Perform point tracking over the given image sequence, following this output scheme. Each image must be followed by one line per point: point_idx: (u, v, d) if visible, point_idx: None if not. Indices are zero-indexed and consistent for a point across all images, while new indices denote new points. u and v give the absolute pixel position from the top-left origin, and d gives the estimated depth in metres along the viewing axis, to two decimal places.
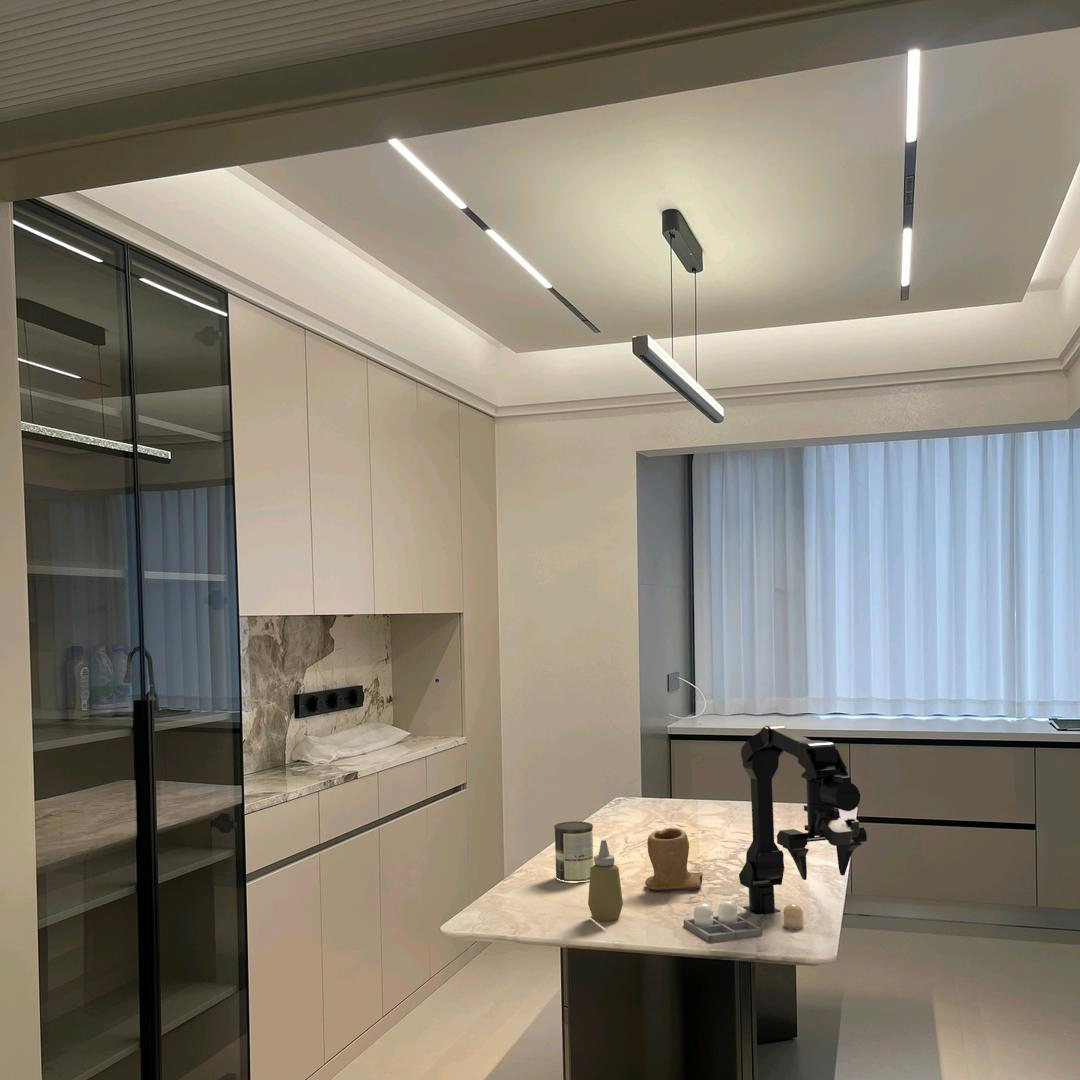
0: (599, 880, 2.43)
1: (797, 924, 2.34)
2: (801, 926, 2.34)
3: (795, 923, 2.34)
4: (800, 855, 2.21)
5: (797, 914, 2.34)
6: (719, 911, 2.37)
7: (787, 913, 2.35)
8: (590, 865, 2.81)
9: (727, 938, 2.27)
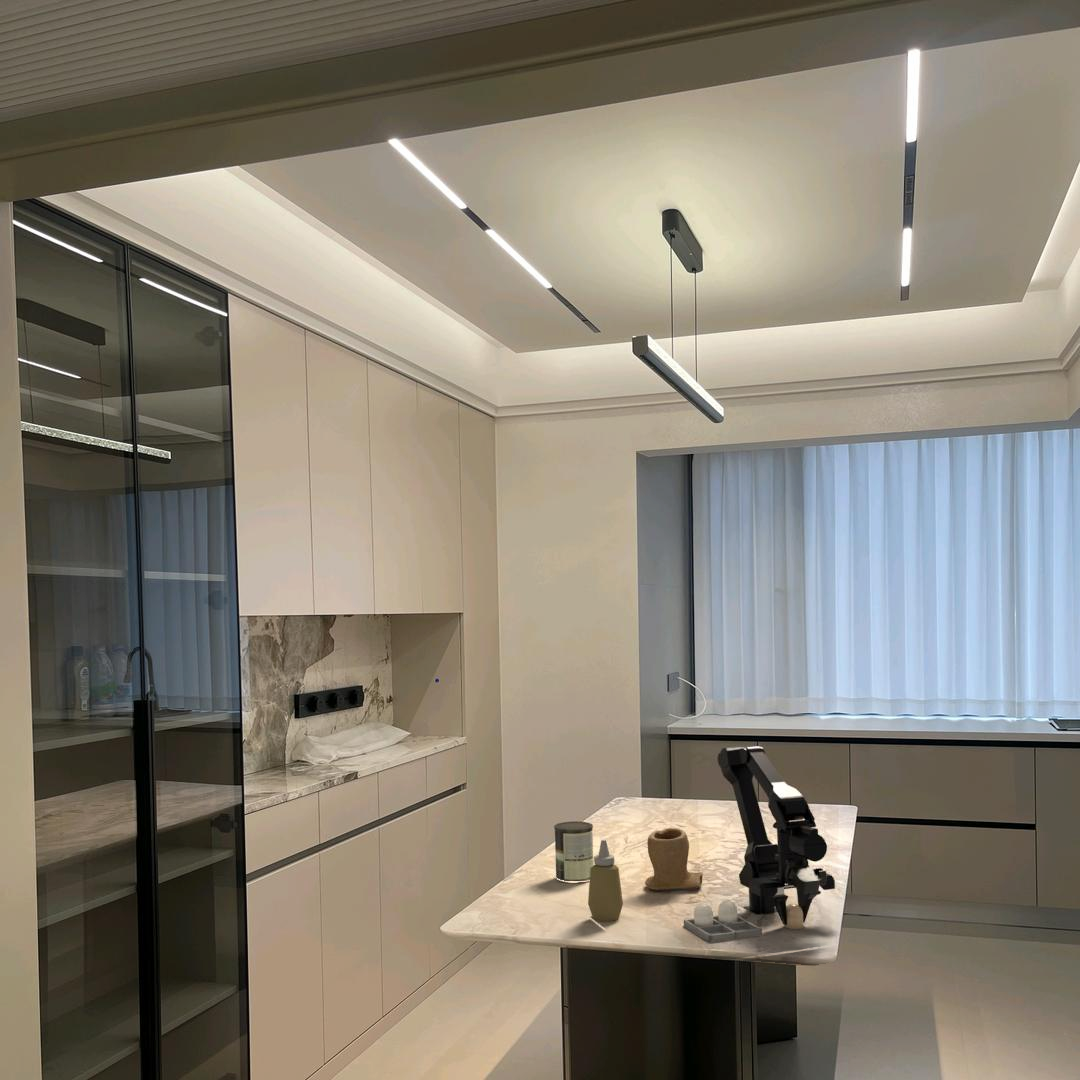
0: (599, 880, 2.43)
1: (797, 924, 2.34)
2: (801, 926, 2.34)
3: (795, 923, 2.34)
4: (780, 901, 2.33)
5: (797, 914, 2.34)
6: (719, 911, 2.37)
7: (787, 913, 2.35)
8: (590, 865, 2.81)
9: (727, 938, 2.27)
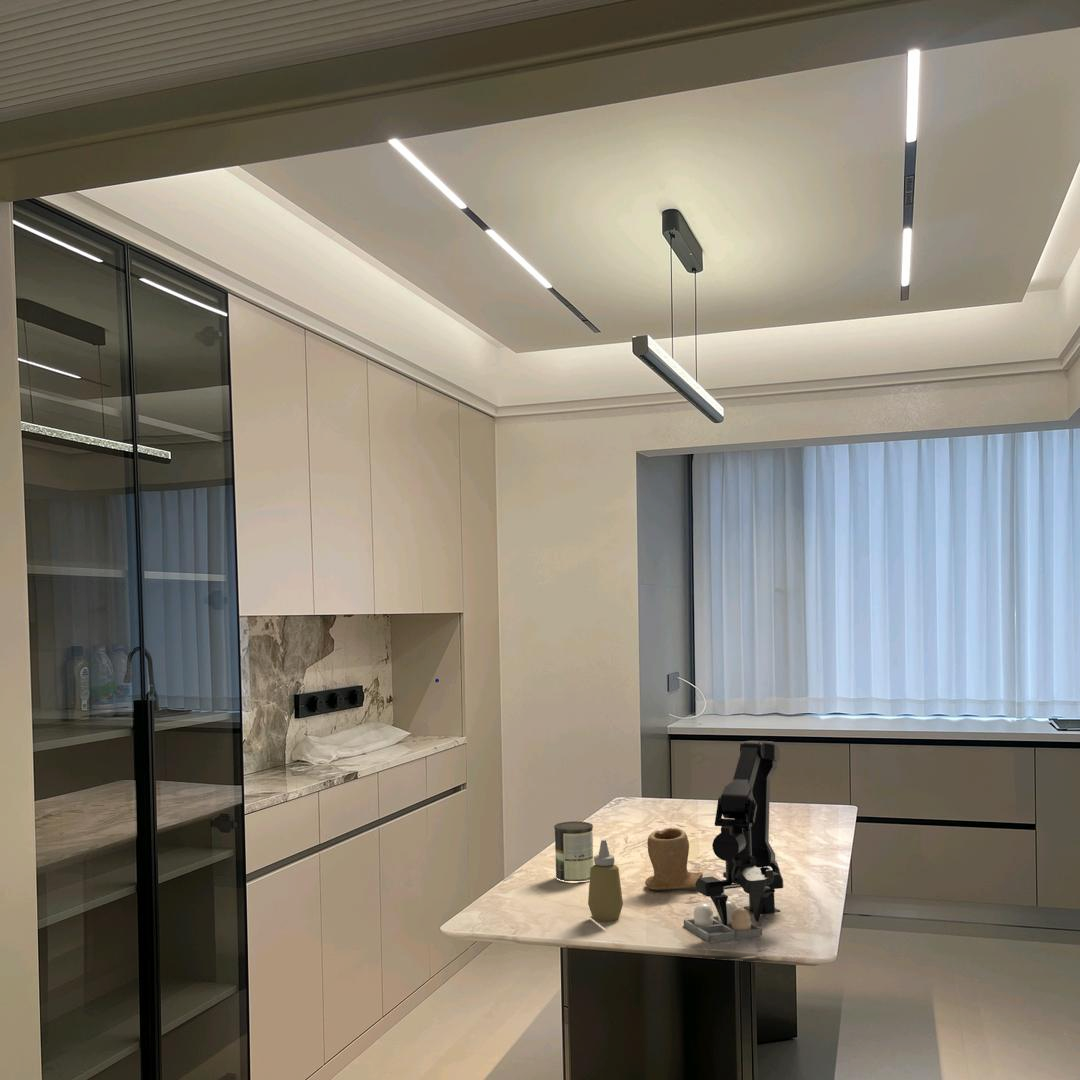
0: (599, 880, 2.43)
1: (745, 929, 2.30)
2: None
3: (742, 927, 2.30)
4: (720, 902, 2.29)
5: (744, 918, 2.30)
6: None
7: (734, 917, 2.31)
8: (590, 865, 2.81)
9: (727, 938, 2.27)
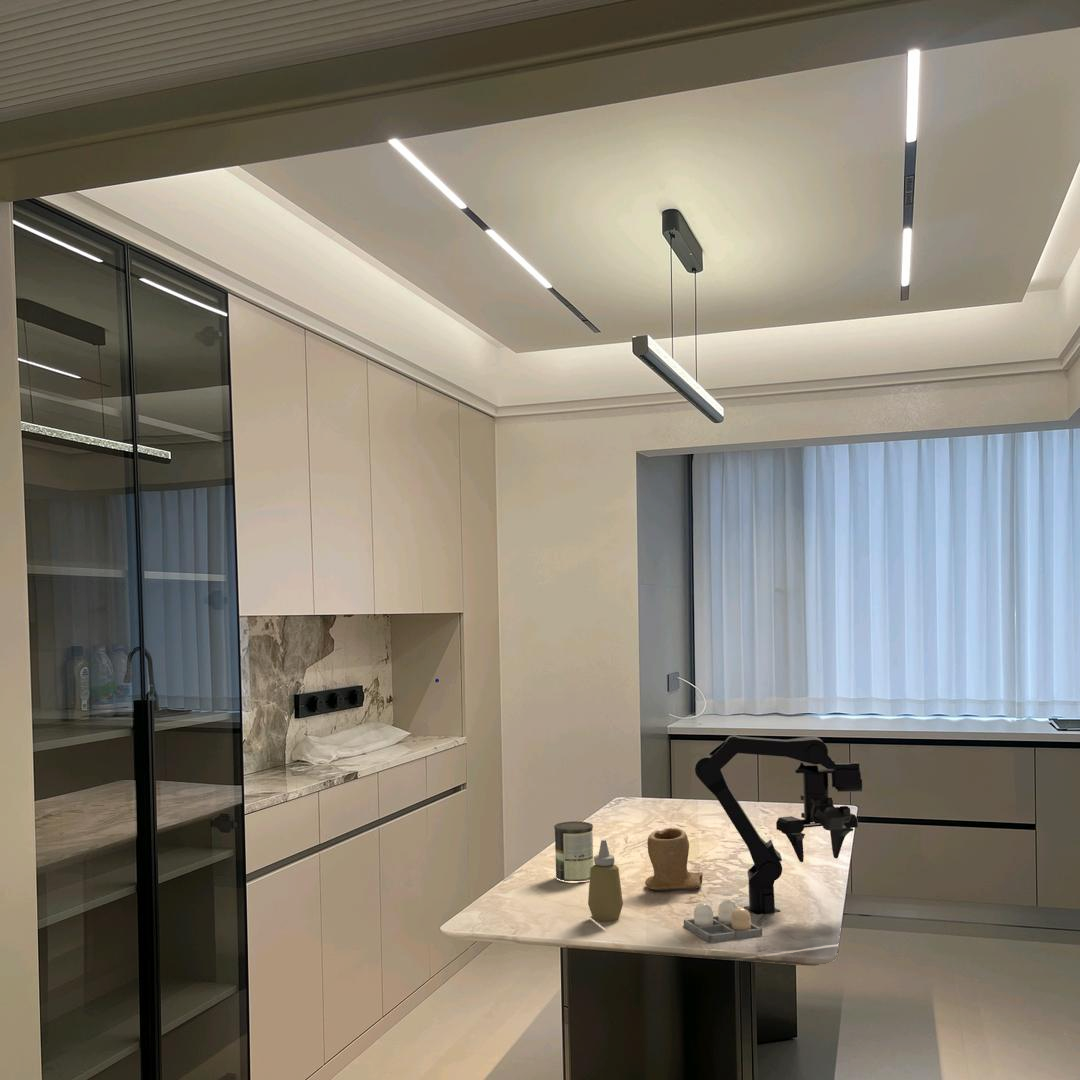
0: (599, 880, 2.43)
1: (745, 929, 2.30)
2: None
3: (742, 927, 2.30)
4: (797, 839, 2.44)
5: (744, 918, 2.30)
6: (719, 911, 2.37)
7: (734, 917, 2.31)
8: (590, 865, 2.81)
9: (727, 938, 2.27)
